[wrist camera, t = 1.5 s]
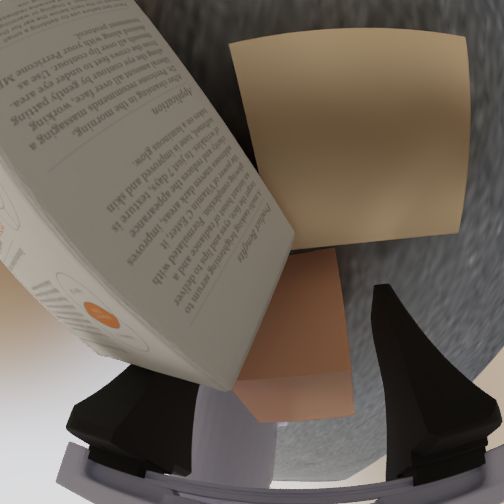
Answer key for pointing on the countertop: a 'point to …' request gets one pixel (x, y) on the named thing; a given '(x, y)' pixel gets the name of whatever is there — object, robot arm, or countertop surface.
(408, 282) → the countertop surface
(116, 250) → the small box
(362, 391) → the countertop surface
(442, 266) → the countertop surface
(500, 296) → the countertop surface
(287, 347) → the block
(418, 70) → the base slab
